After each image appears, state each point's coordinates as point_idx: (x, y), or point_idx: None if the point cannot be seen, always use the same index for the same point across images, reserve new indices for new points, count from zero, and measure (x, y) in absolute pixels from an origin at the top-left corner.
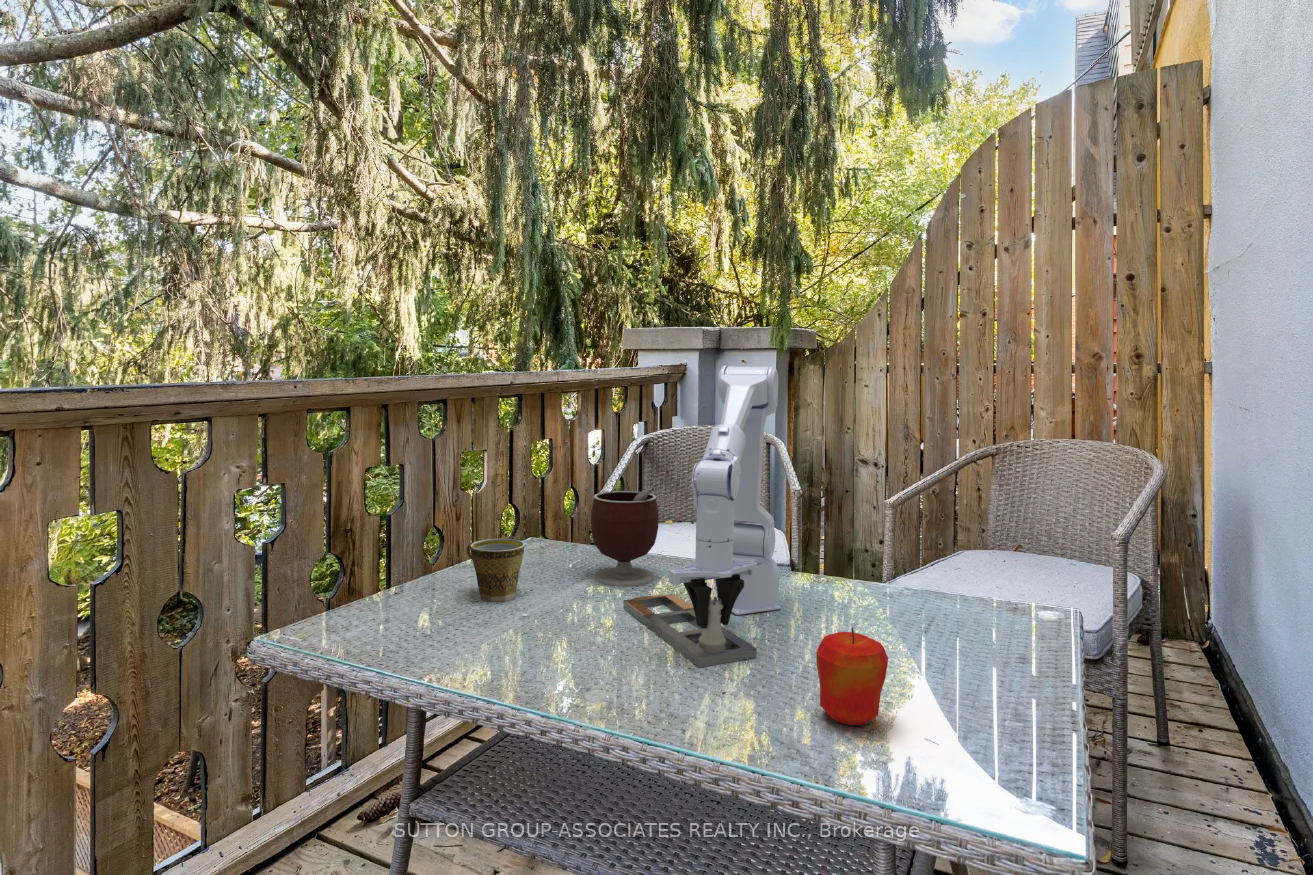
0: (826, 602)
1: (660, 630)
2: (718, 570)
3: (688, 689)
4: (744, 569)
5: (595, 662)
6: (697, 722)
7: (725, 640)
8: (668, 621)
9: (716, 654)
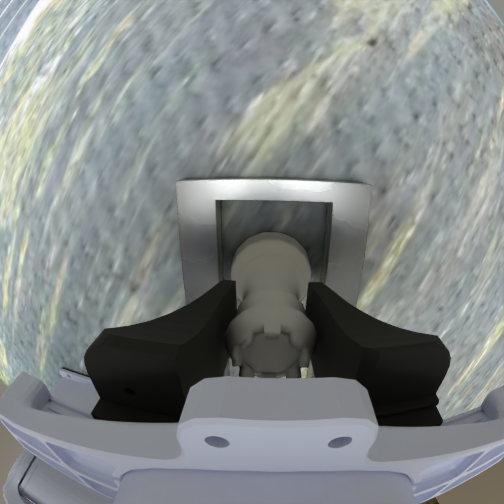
0: (12, 348)
1: None
2: (334, 482)
3: (432, 96)
4: (49, 419)
5: (487, 295)
6: (449, 6)
7: (239, 255)
8: None
9: (315, 182)
